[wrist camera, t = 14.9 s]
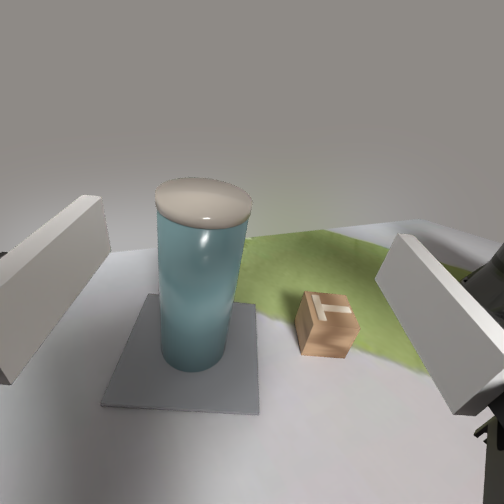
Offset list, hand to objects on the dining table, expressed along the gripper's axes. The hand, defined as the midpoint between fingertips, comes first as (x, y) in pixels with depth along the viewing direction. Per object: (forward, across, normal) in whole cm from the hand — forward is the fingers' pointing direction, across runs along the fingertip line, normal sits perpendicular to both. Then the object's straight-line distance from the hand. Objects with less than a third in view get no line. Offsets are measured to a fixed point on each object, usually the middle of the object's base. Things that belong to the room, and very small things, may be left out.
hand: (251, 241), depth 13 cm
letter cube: (+15, +13, -24) cm, 31 cm away
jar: (+12, -4, -23) cm, 26 cm away
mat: (+12, -4, -24) cm, 27 cm away
